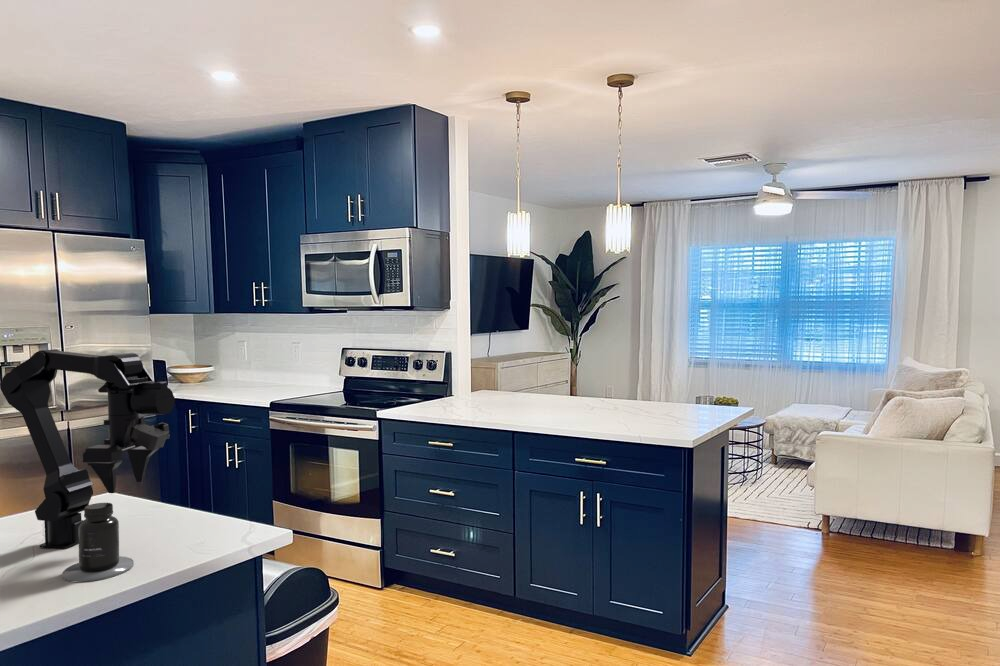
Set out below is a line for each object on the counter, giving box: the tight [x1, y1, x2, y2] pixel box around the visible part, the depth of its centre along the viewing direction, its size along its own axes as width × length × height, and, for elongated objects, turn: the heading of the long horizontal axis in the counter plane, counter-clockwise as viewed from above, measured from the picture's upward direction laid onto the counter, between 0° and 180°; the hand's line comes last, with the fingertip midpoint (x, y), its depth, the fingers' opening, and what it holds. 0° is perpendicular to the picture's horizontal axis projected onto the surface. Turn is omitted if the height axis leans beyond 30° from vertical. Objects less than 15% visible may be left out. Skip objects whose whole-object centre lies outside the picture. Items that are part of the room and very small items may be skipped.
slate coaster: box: [61, 555, 135, 582], centre depth 135 cm, size 12×12×1 cm
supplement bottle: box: [78, 502, 120, 572], centre depth 135 cm, size 7×7×12 cm
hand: (126, 487), depth 146 cm, fingers open, 9 cm apart
